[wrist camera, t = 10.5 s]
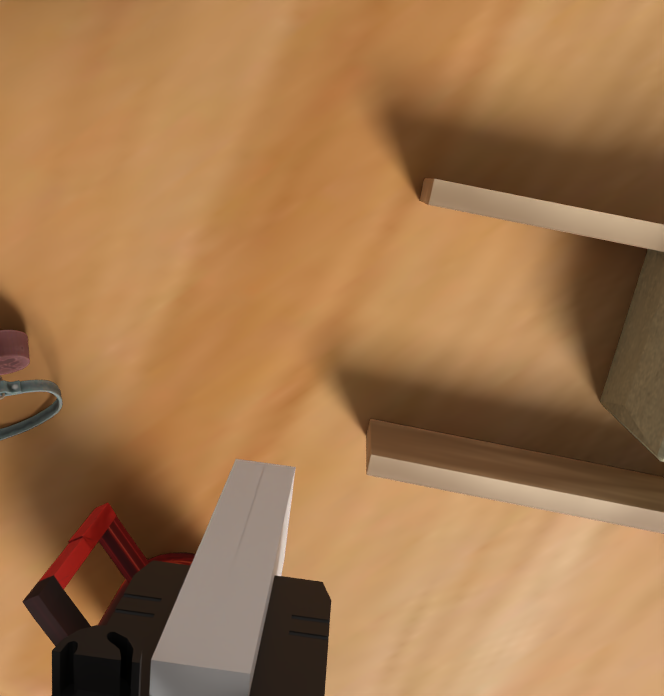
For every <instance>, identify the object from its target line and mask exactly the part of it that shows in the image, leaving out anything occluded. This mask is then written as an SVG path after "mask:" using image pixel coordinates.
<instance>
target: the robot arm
mask: <svg viewBox="0 0 664 696" xmlns="http://www.w3.org/2000/svg"><path fill="white" fill-rule="evenodd" d="M294 475H295V467H291V466H284V465H276V464H269V463H262V462H254V461H247V460H240V459H236V460H235V463H234V465H233V467H232V470H231V472H230V474H229V477H228V479H227V482H226V484H225V486H224V489H223V491H222V493H221V496H220V498H219V500H218V503H217V505H216V508H215V510H214V512H213V515H212V517H211V519H210V522H209V524H208V526H207V529H206V531H205V534H204V536H203V538H202V541H201V543H200V545H199V548H198V550H197V552H196V555H195V557H194V560H193V562H192V564H191V565H183V564H176V563H169V562H162V561H154V560H153V561H151V562H150V563H149V564H147V565H146V566H145V567H144V568H142V569H141V570H140V571H138V572H137V573H136V574H135V575H134V576H133V578H132V580H131V581H130V583H129V585H128V587H127V589H126V591H125V592H124V596H123V597H122V598H121V600H120V601H119V603H118V605H117V607H116V610H115V613H114V612H113V614H112V616H111V618H110V620H109V621H108V623H107V625H95V626H92V627H88V628H84V629H80V630H78V631H76V632H74V633H72V634H71V635H69V636H67V637H65V638H64V639H62V641H61V642H60V643H59V644H58V645H57V646H56V647H55V648H54V649H53V650H52V696H324V694H325V680H326V666H327V652H328V637H329V622H330V610H331V599H330V597H329V595H328V593H327V591H326V588H325V586H324V584H323V582H319V581H312V580H305V579H297V578H290V577H283V576H281V574H282V569H283V564H284V557H285V549H286V541H287V533H288V525H289V516H290V508H291V500H292V492H293V483H294Z"/></svg>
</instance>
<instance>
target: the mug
mask: <svg viewBox="0 0 664 696" xmlns="http://www.w3.org/2000/svg"><path fill="white" fill-rule="evenodd" d="M98 541H99V543H100V544H101V545H102V547H103V548H104V549H105V551H106V552H107V554H108V555H109V556H110V558H111V559H112V561H113V562H114V563H115V565H116V566H117V568H118V569H119V570H120V572H121V573H122V575H123V576H124V577H125V580H124V582H123V583H122V585H121V587H120V588H119V590H118V592H117V593H116V595H115V597H114V599H113V600H112V602H111V604H110V605H109V607H108V609H107V610H106V612H105V614H104V616H103V617H102V619H101V621H100V622H99V624H98V625H107V623H108V621H109V620H110V618H111V616H112V614H113V612H114V613H115V610H116V607H117V605H118V603H119V601H120V600H121V598H122V597H123V596H124V592H125V591H126V589H127V587H128V585H129V583H130V581H131V580H132V578H133V576H134V575H135V574H136V573H137V572H138V571H140V570H141V569H142V568H144V567H145V566H146V565H147V564H149V563H150V562H151V561H153V560H154V561H162V562H169V563H176V564H183V565H191V564H192V562H193V560H194V557H195V555H196V554H192V553H168V554H163V555H158V556H156V557H153V558H151V559H148V560H147V559H146V557H145V556H144V555H143V553H142V552H141V550H140V549H139V548H138V546H137V545H136V543H135V542H134V540H133V539H132V538H131V536H130V535H129V533H128V532H127V530H126V529H125V528H124V526H123V525H122V523H121V522H120V520H119V519H118V518H117V516H116V514H115V512H114V511H113V509H112V508H111V506H110V504H109V503H106V504H104V505H101V506H99V507H97V508H95V509H94V510H93V512H92V513H91V514H90V515H89V517H88V518H87V519H86V520H85V521H84V523H83V524H82V525H81V526H80V528H79V529H78V530H77V531H76V533H75V534H74V535H73V536H72V538H71V539H70V540H69V541H68V542H69V544H68V545H67V546H66V548H65V549H64V550H63V552H62V553H61V554H60V555H59V557H58V558H57V559H56V560H55V562H54V563H53V564H52V565H51V567H50V568H49V569H48V570H47V572H46V573H45V574H44V575H43V577H42V578H41V579H40V580H39V582H38V583H37V584H36V585H35V587H34V588H33V589H32V590H31V592H30V593H29V594H28V595H27V597H26V598H25V599H24V600H23V603H24V605H25V606H26V608H27V609H28V611H29V612H30V613H31V615H32V616H33V618H34V619H35V620H36V622H37V623H38V624H39V625H40V627H41V628H42V629H43V631H44V632H45V633H46V635H47V636H48V637H49V638H50V640H51V641H52V642H53V644H54V645H55V646H57V645H58V644H59V643H60V642H61V641H62V639H64V638H65V637H67V636H69V635H71V634H72V633H74V632H76V631H78V630H80V629H84V628H88V627H91V626H90V624H89V623H88V622H87V620H86V619H85V618H84V616H83V615H82V614H81V612H80V611H79V610H78V608H77V607H76V606H75V604H74V603H73V602H72V600H71V599H70V598H69V596H68V595H67V594H66V592H65V591H64V588H65V587H66V585H67V584H68V583H69V581H70V580H71V579H72V577H73V576H74V574H75V573H76V572H77V570H78V569H79V567H80V566H81V565H82V563H83V562H84V561H85V559H86V558H87V556H88V555H89V554H90V552H91V551H92V549H93V548H94V547H95V545H96V544H97V543H98Z"/></svg>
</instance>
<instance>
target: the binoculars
mask: <svg viewBox="0 0 664 696" xmlns="http://www.w3.org/2000/svg"><path fill="white" fill-rule="evenodd" d="M29 363H30V360H29V347H28V336H27V334H25V333H24V332H21V331H16V330H0V375H4V374H9V373H13V372H16V371H19V370H21V369H23V368H25V367H26V366H27V365H28V364H29ZM41 391H42V392H49V393H52V394H54V395H55V396H56V397H57V399H56V401H55V402H54V403H53V404H52V405H50V406H49V407H48V408H46V409H45V410H43V411H42V412H40V413H38V414H36V415H35V416H33V417H31V418H29V419H26V420H24V421H22V422H19V423H17V424H14V425H12V426H9V427H6V428H3V429H0V440H3V439H6V438H9V437H12V436H15V435H17V434H20V433H22V432H25V431H27V430H30V429H32V428H34V427H36V426H38V425H40V424H42V423H43V422H45V421H47V420H48V419H50V418H51V417H53V416H54V415H55V414H57V413H58V412H59V411H60V409H61V407H62V398H61V392H60V389H59V387H58V386H57V385H56V384H55V383H53V382H51V381H48V380H28V381H21V382H20V381H14V382H8V381H3V379H2V377H1V376H0V396H1V397H0V399H3V398H4V397H5V396H10V395H16V394H22V393H27V392H41Z"/></svg>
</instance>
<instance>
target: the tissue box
mask: <svg viewBox="0 0 664 696" xmlns="http://www.w3.org/2000/svg"><path fill="white" fill-rule="evenodd" d="M600 402H601V404H602V405H603V406H604V407H605V408H606V409H607V410H608V411H609V412H610V413H611V414H612V415H613V416H614V417H615V418H616V419H617V420H618V421H619V422H620V423H621V424H622V425H623V426H624V427H625V428H626V429H627V430H628V431H629V432H631V433H632V434H633V435H634V436H635V437H636V438H637V439H638V440H639V441H640V442H641V443H642V444H643V445H644V446H645V447H646V448H647V449H648V450H649V451H650V452H651V453H652V454H653V455H654V456H655V457H656V458H657V459H658V460H659V461H662V462H664V252H662V251H657V250H652V249H648V250H647V254H646V257H645V260H644V263H643V266H642V269H641V273H640V276H639V279H638V282H637V285H636V288H635V292H634V295H633V298H632V301H631V304H630V308H629V311H628V314H627V317H626V320H625V323H624V327H623V330H622V333H621V336H620V339H619V342H618V346H617V349H616V352H615V355H614V358H613V361H612V365H611V368H610V371H609V374H608V377H607V380H606V384H605V387H604V390H603V393H602V396H601V399H600Z"/></svg>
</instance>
